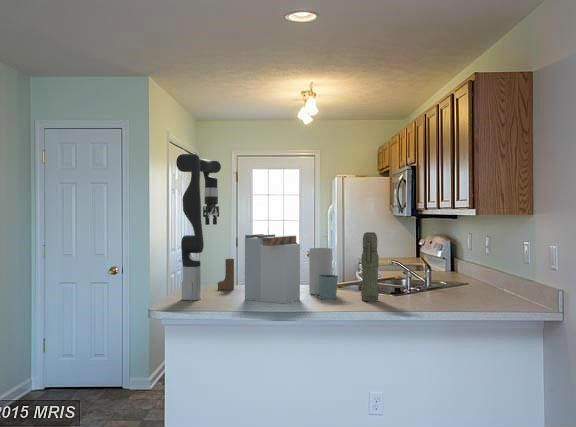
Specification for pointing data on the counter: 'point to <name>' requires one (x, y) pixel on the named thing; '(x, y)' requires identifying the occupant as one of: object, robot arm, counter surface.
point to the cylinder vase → (318, 267)
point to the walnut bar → (278, 240)
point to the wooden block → (228, 276)
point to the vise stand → (271, 270)
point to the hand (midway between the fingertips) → (211, 224)
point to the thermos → (369, 267)
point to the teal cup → (328, 286)
